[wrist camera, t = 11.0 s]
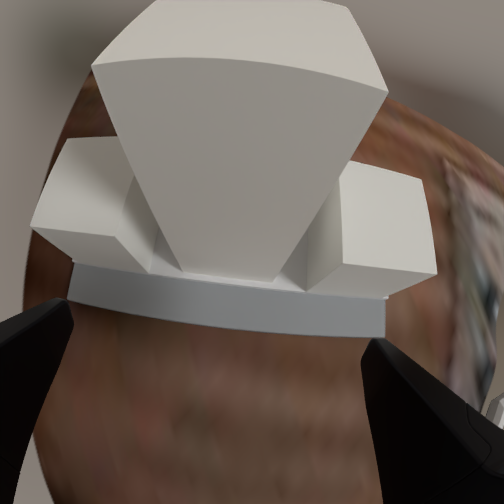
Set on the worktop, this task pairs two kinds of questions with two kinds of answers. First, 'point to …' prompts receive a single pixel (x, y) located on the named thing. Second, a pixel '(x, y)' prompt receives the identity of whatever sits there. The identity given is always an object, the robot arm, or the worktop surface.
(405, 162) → the worktop surface
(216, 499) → the worktop surface
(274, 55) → the block
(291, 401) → the worktop surface
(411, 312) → the worktop surface
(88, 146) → the board
